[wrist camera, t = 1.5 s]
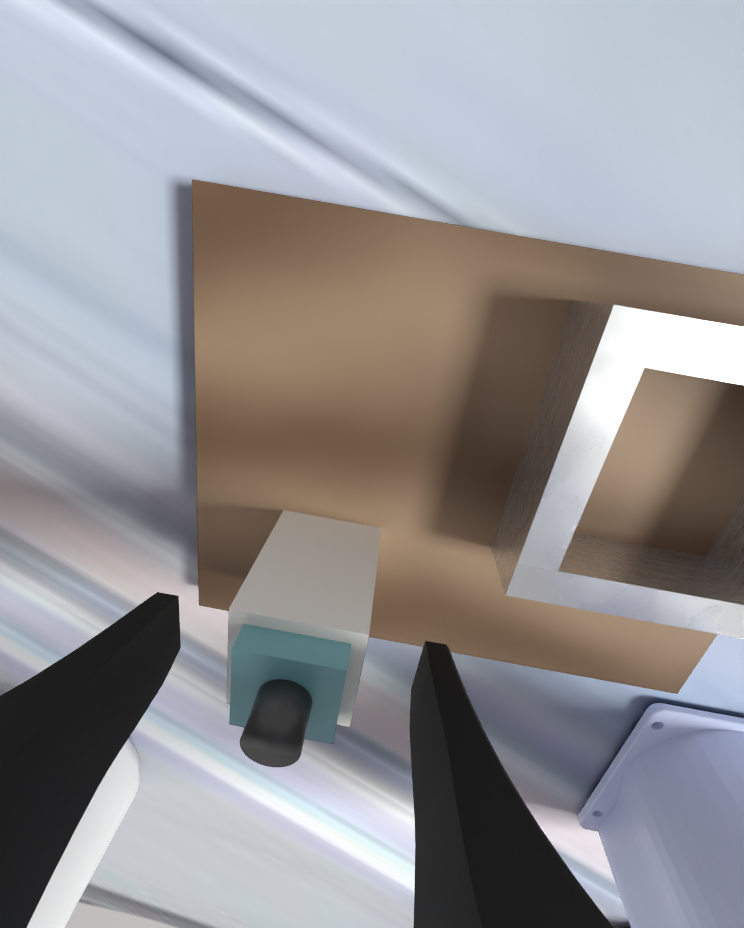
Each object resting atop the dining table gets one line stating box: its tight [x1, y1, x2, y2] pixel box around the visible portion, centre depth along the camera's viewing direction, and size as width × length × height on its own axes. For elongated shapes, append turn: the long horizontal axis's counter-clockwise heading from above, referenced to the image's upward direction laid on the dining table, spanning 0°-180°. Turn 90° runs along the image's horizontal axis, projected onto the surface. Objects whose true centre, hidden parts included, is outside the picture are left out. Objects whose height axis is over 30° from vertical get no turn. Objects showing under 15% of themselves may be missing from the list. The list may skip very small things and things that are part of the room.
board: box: [192, 179, 744, 694], centre depth 15 cm, size 15×20×1 cm
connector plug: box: [227, 510, 381, 767], centre depth 13 cm, size 4×4×7 cm
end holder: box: [491, 300, 744, 639], centre depth 12 cm, size 8×8×2 cm
